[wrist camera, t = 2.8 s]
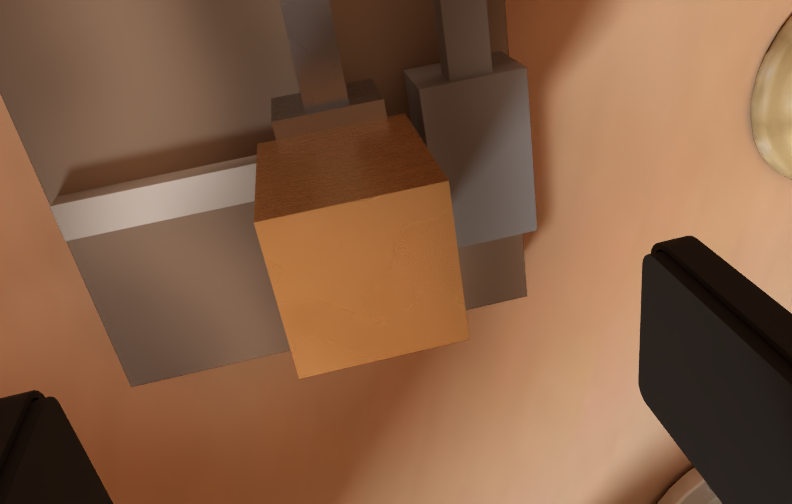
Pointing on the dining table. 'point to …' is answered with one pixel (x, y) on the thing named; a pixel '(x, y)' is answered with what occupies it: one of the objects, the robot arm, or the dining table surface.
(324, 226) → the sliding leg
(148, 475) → the dining table surface
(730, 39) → the dining table surface
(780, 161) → the hand bell
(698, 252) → the robot arm
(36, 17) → the gauge plate
